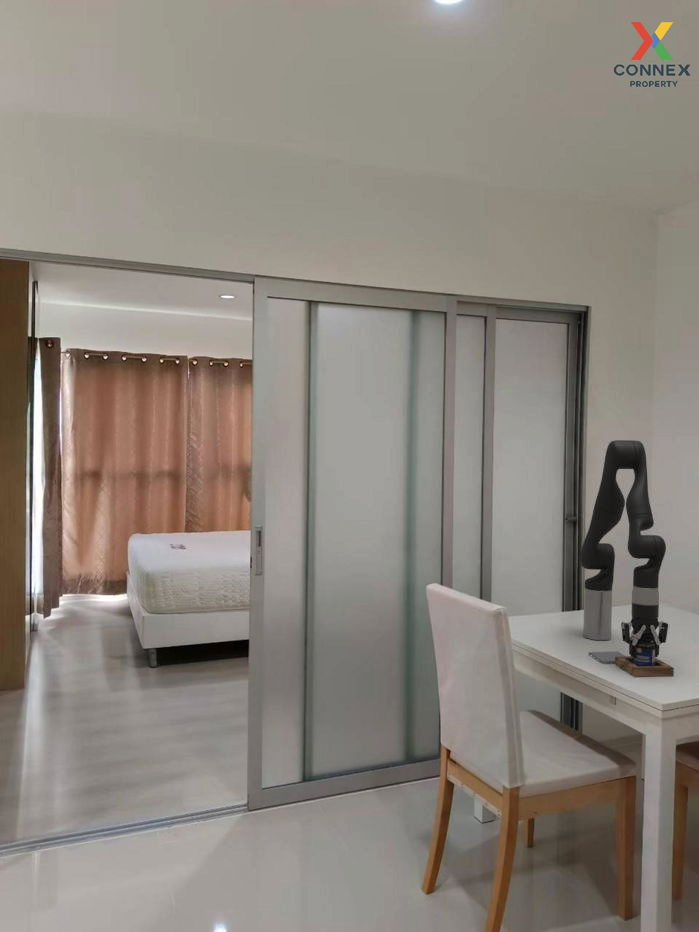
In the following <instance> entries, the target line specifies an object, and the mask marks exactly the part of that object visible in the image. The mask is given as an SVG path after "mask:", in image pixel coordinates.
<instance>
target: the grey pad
mask: <svg viewBox="0 0 699 932" xmlns="http://www.w3.org/2000/svg"><path fill="white" fill-rule="evenodd" d="M588 653H589V654H590V655H592V656H593V657H595V658H596V659H598V660H599V661H601V662H602V663H615V657H621V656H626V655H624V654H623V653H621V652H620V651H589V652H588ZM590 655H589V656H590ZM593 657H592V658H593ZM595 658H594V659H595ZM596 659H595V660H596ZM598 660H597V661H598ZM599 661H598V662H599ZM601 662H600V663H601ZM602 663H601V664H602Z"/></svg>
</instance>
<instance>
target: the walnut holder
mask: <svg viewBox="0 0 699 932" xmlns="http://www.w3.org/2000/svg"><path fill="white" fill-rule="evenodd" d="M615 664H616V665H617V667H618V666H619V667H618V668H619V669H621V668H622V669H621V670H622V671H624V670H625V671H624V672H626V673H627V672H628V673H627V674H629V675H631V676H632V675H633V677H634V678H649V677H650V678H653V677H655V678H657V677H674V674H675V673H674V671H675V668H674V667H673V666H671V665H670V664H668V663H666V662H665V661H662V660H660V659H659V658H658V657H655V666H636V665H635V664H633V657H631V655H630V656H629V655H627V656H626V655H625V656H621V657H615ZM615 664H614V665H615ZM616 665H615V666H616ZM656 676H657V677H656Z"/></svg>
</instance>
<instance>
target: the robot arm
mask: <svg viewBox="0 0 699 932" xmlns="http://www.w3.org/2000/svg"><path fill="white" fill-rule="evenodd" d="M646 453H647V452H646V448H645V446H644V444H643V443H642V442H641V441H640V440H633V439H632V440H627V439H625V440H624V439H622V440H619V439H617V440H611V441H610V442H609V443H608V445H607V448H606V450H605V457H604V462H603V470H602V474H601V480H600V484H599V488H598V492H597V494H596V498H595V503H594V506H593V510H592V511H593V512H592V514H591V520H590V522H589V527H588V530H587V533H586V535H585V538H584V540H583V542H582V543H583V544H582V546H581V551H580V556H579V558H580V559H579V560H580V564H581V566H582V567H583V568H584V569H586V570H599V572H598V573H597V574H595V575H594V576H593V575H592V577H588V578H586V579H585V580H584V593H583V594H584V598H583V599H584V600H583V603H584V605H583V607H584V608H583V633H582V634H583V637H584V638H586V639H590V640H595V641H610V640H611V639H612V620H613V619H612V613H613V586H614V585H613V584H614V574H615V564H616V563H615V562H616V560H615V559H616V552H615V548H614V547H613V545H612V544H611V543H605V542H601V540H602V539H603V538H604V537H605V536H606V535H607V534H608V533H610V532H611V531H612V529H614V528H615V527H616V526H617V525H618V524H619V522H620V521H621V520H622V516H623V513H624V510H626V514H627V519H628V525H629V526H628V527H629V528H628V541H627V551H628V553H629V554H630V557H632V558H633V559H636V560H637V559H642V560H643V559H648V560H647V562H646V563H645V564H642V565H638V566H635V567H634V569H633V577H632V579H633V580H632V582H633V583H632V592H631V619H630V621H629V622H624V621H622V622H621V623H620V626H621V635H622V641H623V642H624V643H626V644H628V646H629V647H628V654H629V655H630V656H631V657H633V658H636V652H637V646H636V643H637V641H638V640H639V639H640V637H641V635H653V640H652V642H653V643H654V644H655V658H658V656H659V655H660V645H661V644H663V643H664V644H665V643H666V642H667V636H668V630H669V629H668V628H669V624H668V623H667V622H664V621H663V620H662V621H661V620H660V621H659V619H658V618H660V617H659V613H660V611H659V610H660V591H659V581H660V580H659V579H660V578H659V575H660V570H661V567H662V563H663V561H664V558H665V555H666V551H667V547H666V545H667V544H666V541H665V539H664V538H663V537H662V536H661V535H656V534H655V535H654V534H652V535H651V534H642V533H641V532H642V531H643V532H644V531H647V530H650V529H651V528H653V526H654V524H655V521H654V518H653V513H652V507H651V503H650V502H651V501H650V499H649V497H650V495H649V486H648V485H649V483H648V482H649V481H648V468H647V467H648V464H647V454H646ZM618 470H633V473H634V479H633V480H634V481H633V483H632V486H631V488H630V490H629V492H628V495H627V496H626V500H625V497H624V495H623V492H622V490H621V489H620V486H619V484H618V481H617V474H618ZM600 542H601V543H600ZM631 628H632V629H631ZM657 629H658V633H657V631H656V630H657ZM630 630H632V631H631V633H630ZM636 633H637V634H636Z"/></svg>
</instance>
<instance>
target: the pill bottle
mask: <svg viewBox="0 0 699 932" xmlns="http://www.w3.org/2000/svg"><path fill="white" fill-rule="evenodd" d="M636 634H637V633H636ZM652 640H653V635H641V637H640V639H639V640H638V641H637V643H636V646H637V652H636V658H633V664H635V665H636V666H655V658H656V657H655V644H654V643H653V642H652Z"/></svg>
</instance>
